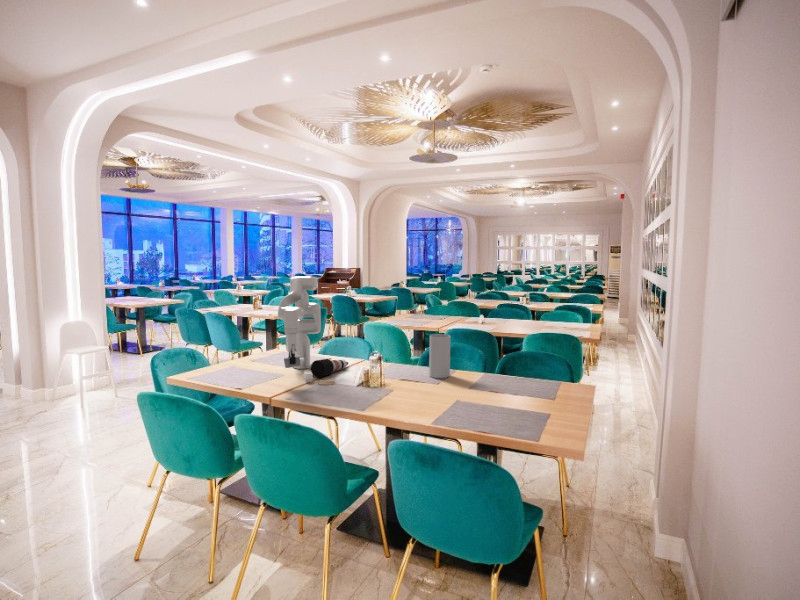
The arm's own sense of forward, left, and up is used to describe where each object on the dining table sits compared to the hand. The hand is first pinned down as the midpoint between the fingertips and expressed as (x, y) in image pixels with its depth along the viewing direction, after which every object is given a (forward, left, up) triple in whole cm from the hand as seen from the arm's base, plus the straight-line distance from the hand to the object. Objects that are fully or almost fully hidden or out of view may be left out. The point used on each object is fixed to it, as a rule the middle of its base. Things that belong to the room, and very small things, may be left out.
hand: (292, 362), depth 256 cm
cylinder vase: (+11, +87, -13) cm, 89 cm away
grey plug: (0, +1, -2) cm, 2 cm away
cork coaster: (+2, +19, -13) cm, 23 cm away
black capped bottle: (-21, +28, -13) cm, 38 cm away
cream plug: (-6, +10, -13) cm, 17 cm away
